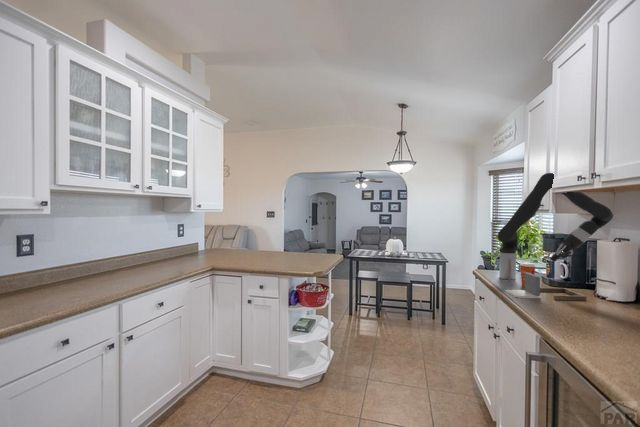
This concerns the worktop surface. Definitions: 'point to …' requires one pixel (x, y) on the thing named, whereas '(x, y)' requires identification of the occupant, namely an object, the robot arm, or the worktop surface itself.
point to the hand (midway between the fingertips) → (551, 260)
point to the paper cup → (526, 270)
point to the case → (562, 297)
